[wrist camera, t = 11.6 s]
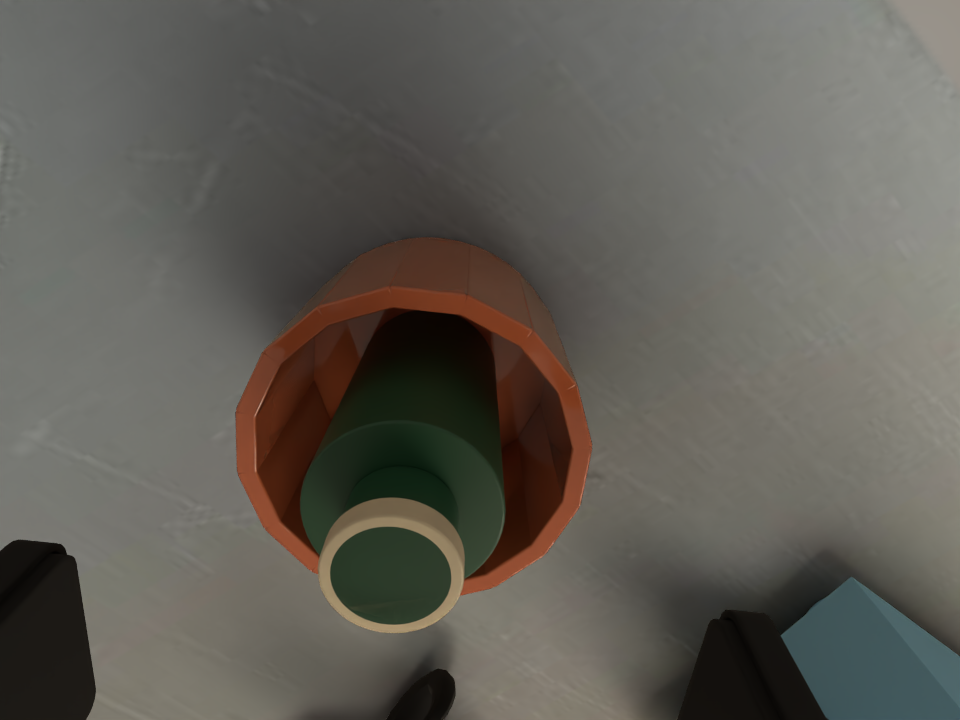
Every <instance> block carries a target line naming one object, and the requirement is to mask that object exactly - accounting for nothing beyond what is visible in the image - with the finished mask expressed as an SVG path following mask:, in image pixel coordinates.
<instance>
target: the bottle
mask: <svg viewBox="0 0 960 720" xmlns="http://www.w3.org/2000/svg"><path fill="white" fill-rule="evenodd" d="M300 511H301V517H302V522H303V526H304V529H305V531H306V534H307V537H308V539H309V540H310V542H311V544H312V546H313V547H314V549H315V550H316V552H317V553H318V554H319V556H320V558H319V562H318V578H319V583H320V586H321V589H322V592H323V594H324V596H325V597H326V599H327V601H328V602H329V603H330V605H331V606H332V607H333V608H334V609H335V610H336V611H337V612H338V613H339V614H340V615H342V616H343V617H344V618H346V619H347V620H349V621H350V622H352V623H354V624H356V625H358V626H360V627H363V628H366V629H369V630H373V631H377V632H384V633H405V632H411V631H415V630H419V629H422V628H425V627H427V626H429V625H431V624H433V623H435V622H437V621H438V620H440V619H441V618H442V617H444V616H445V615H446V614H447V613H448V612H449V611H450V610H451V609H452V607H453V606H454V605H455V604H456V602H457V600H458V598H459V597H460V594H461V591H462V588H463V584H464V579H465V578H467V577H468V576H470V575H471V574H472V573H474V572H475V571H476V570H477V569H478V568H480V567H481V566H482V565H483V564H484V563H485V561H486V560H487V559H488V558H489V556H490V555H491V554H492V552H493V551H494V549H495V547H496V546H497V544H498V542H499V539H500V537H501V534H502V531H503V527H504V523H505V513H506V508H505V494H504V480H503V466H502V453H501V439H500V425H499V411H498V398H497V384H496V370H495V362H494V357H493V354H492V351H491V349H490V347H489V345H488V343H487V341H486V340H485V338H484V337H483V336H482V334H481V333H480V332H479V331H478V330H477V329H476V328H475V327H474V326H473V325H471V324H470V323H469V322H467V321H466V320H464V319H462V318H461V317H459V316H456V315H454V314H447V313H438V312H429V311H419V310H414V311H409V312H406V313H403V314H400V315H398V316H396V317H394V318H392V319H391V320H389V321H388V322H386V323H385V324H384V325H383V326H382V327H381V328H379V329H378V331H377V332H376V333H375V334H374V335H373V337H372V339H371V340H370V342H369V344H368V346H367V348H366V350H365V352H364V354H363V356H362V358H361V360H360V362H359V364H358V367H357V369H356V371H355V373H354V375H353V377H352V379H351V381H350V383H349V385H348V387H347V389H346V392H345V394H344V396H343V398H342V400H341V402H340V404H339V406H338V408H337V410H336V412H335V414H334V417H333V419H332V421H331V423H330V425H329V427H328V429H327V431H326V433H325V435H324V437H323V439H322V442H321V444H320V446H319V448H318V450H317V452H316V454H315V456H314V458H313V460H312V462H311V464H310V467H309V469H308V471H307V473H306V476H305V478H304V481H303V485H302V489H301V496H300Z"/></svg>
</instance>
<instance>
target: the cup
mask: <svg viewBox="0 0 960 720" xmlns="http://www.w3.org/2000/svg"><path fill="white" fill-rule="evenodd" d="M414 310H419V311H429V312H438V313H447V314H454V315H456V316H459V317H461V318H462V319H464V320H466V321H467V322H469V323H470V324H471V325H473V326H474V327H475V328H476V329H477V330H478V331H479V332H480V333H481V334H482V336H483V337H484V338H485V340H486V341H487V343H488V345H489V347H490V349H491V351H492V354H493V357H494V362H495V370H496V384H497V398H498V411H499V425H500V439H501V453H502V466H503V480H504V494H505V508H506V513H505V523H504V527H503V531H502V534H501V537H500V539H499V542H498V544H497V546H496V547H495V549H494V551H493V552H492V554H491V555H490V556H489V558H488V559H487V560H486V561H485V563H484V564H483V565H482V566H481V567H480V568H478V569H477V570H476V571H475V572H474V573H472V574H471V575H470V576H468V577H467V578H465V579H464V584H463V588H462V591H461V594H460V596H461V595H465V594H469V593H474V592H478V591H482V590H487V589H491V588H493V587H496V586H497V585H499V584H501V583H502V582H504V581H505V580H507V579H508V578H510V577H512V576H513V575H515V574H516V573H518V572H519V571H521V570H523V569H524V568H526V567H527V566H529V565H530V564H532V563H534V562H535V561H537V560H538V559H540V558H541V557H543V556H544V555H545V554H546V553H547V552H548V551H549V549H550V548H551V546H552V545H553V544H554V542H555V541H556V539H557V538H558V537H559V535H560V534H561V532H562V531H563V530H564V528H565V527H566V526H567V524H568V523H569V521H570V520H571V519H572V517H573V516H574V514H575V513H576V512H577V510H578V509H579V507H580V505H581V502H582V497H583V492H584V487H585V482H586V477H587V472H588V467H589V462H590V457H591V452H592V441H591V437H590V433H589V429H588V425H587V421H586V417H585V413H584V409H583V405H582V401H581V397H580V393H579V389H578V385H577V383H576V380H575V377H574V375H573V372H572V369H571V367H570V364H569V361H568V359H567V356H566V353H565V351H564V348H563V345H562V343H561V340H560V337H559V335H558V332H557V329H556V327H555V324H554V321H553V319H552V316H551V314H550V312H549V310H548V309H547V308H546V306H545V305H544V304H543V302H542V300H541V299H540V297H539V296H538V294H537V293H536V291H535V290H534V288H533V287H532V286H531V285H530V284H529V283H528V281H527V280H526V279H525V278H524V277H523V276H522V275H521V274H520V273H519V272H518V271H517V270H515V269H514V268H513V267H512V266H511V265H509V264H508V263H507V262H505V261H503V260H502V259H500V258H499V257H497V256H496V255H494V254H492V253H490V252H488V251H486V250H484V249H482V248H479V247H477V246H474V245H471V244H468V243H465V242H462V241H457V240H451V239H446V238H431V237H422V238H410V239H404V240H399V241H395V242H390V243H387V244H385V245H382V246H379V247H376V248H374V249H372V250H370V251H368V252H366V253H363V254H361V255H359V256H358V257H357V258H356V259H354V260H353V261H352V262H350V263H349V264H347V265H346V266H345V267H344V268H343V269H342V270H341V271H340V272H339V273H337V274H336V275H335V276H334V277H333V278H332V279H330V280H329V281H328V282H327V283H326V284H324V285H323V286H322V287H321V288H320V289H319V290H318V292H317V293H316V294H315V295H314V296H313V297H312V298H311V299H310V300H309V301H308V302H307V304H306V305H305V306H304V307H303V308H302V309H301V310H300V311H299V312H298V313H297V314H296V316H295V317H294V318H293V319H292V320H291V321H290V322H289V323H288V324H287V325H286V326H285V328H284V329H283V330H282V331H281V332H280V333H279V334H278V335H277V336H276V337H275V338H274V340H273V341H272V342H271V343H270V344H269V345H268V346H267V347H266V348H265V350H264V351H263V352H262V354H261V356H260V358H259V360H258V362H257V364H256V367H255V369H254V371H253V373H252V375H251V377H250V380H249V382H248V384H247V386H246V388H245V390H244V392H243V395H242V397H241V399H240V401H239V403H238V405H237V408H236V412H235V413H236V453H237V472H238V476H239V478H240V480H241V482H242V484H243V486H244V488H245V490H246V493H247V495H248V497H249V499H250V501H251V503H252V505H253V507H254V509H255V511H256V513H257V515H258V517H259V519H260V521H261V523H262V525H263V527H264V528H265V530H266V531H267V532H268V533H269V534H270V535H271V536H273V537H274V538H275V539H276V540H277V541H278V542H279V543H280V544H281V545H282V546H283V547H285V548H286V549H287V550H288V551H289V552H290V553H291V554H292V555H293V556H294V557H296V558H297V559H298V560H299V561H300V562H301V563H302V564H303V565H304V566H305V567H307V568H308V569H309V570H312V572H313V573H316V574H318V562H319V558H320V556H319V554H318V553H317V552H316V550H315V549H314V547H313V546H312V544H311V542H310V540H309V539H308V537H307V534H306V531H305V529H304V526H303V522H302V517H301V511H300V496H301V489H302V485H303V481H304V478H305V476H306V473H307V471H308V469H309V467H310V464H311V462H312V460H313V458H314V456H315V454H316V452H317V450H318V448H319V446H320V444H321V442H322V439H323V437H324V435H325V433H326V431H327V429H328V427H329V425H330V423H331V421H332V419H333V417H334V414H335V412H336V410H337V408H338V406H339V404H340V402H341V400H342V398H343V396H344V394H345V392H346V389H347V387H348V385H349V383H350V381H351V379H352V377H353V375H354V373H355V371H356V369H357V367H358V364H359V362H360V360H361V358H362V356H363V354H364V352H365V350H366V348H367V346H368V344H369V342H370V340H371V339H372V337H373V335H374V334H375V333H376V332H377V331H378V329H379V328H381V327H382V326H383V325H384V324H385V323H386V322H388V321H389V320H391V319H392V318H394V317H396V316H398V315H400V314H403V313H406V312H409V311H414Z"/></svg>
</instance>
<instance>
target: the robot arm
mask: <svg viewBox="0 0 960 720" xmlns="http://www.w3.org/2000/svg"><path fill="white" fill-rule="evenodd" d="M95 694H96V687H95V680H94V674H93V667H92V661H91V654H90V648H89V641H88V635H87V629H86V622H85V616H84V609H83V603H82V596H81V590H80V583H79V577H78V570H77V564H76V561H75V558H74V557H73V556H70V555H67V553H66V550H65V548H64V547H63V546H62V545H61V544H57V543H48V542H38V541H28V540H16V541H12V542H11V543H9V544H8V545H7V546H5V547H4V548H3V549H2V550H1V551H0V720H86V719H87V717H88V715H89V713H90V711H91V709H92V706H93V703H94V699H95ZM677 720H829V719H827V718H826V717H825V715H824V713H823V712H822V710H821V708H820V706H819V704H818V703H817V701H816V699H815V697H814V695H813V693H812V692H811V690H810V688H809V686H808V684H807V683H806V681H805V679H804V677H803V675H802V674H801V672H800V670H799V668H798V666H797V665H796V663H795V661H794V659H793V657H792V655H791V654H790V652H789V650H788V648H787V646H786V645H785V643H784V641H783V639H782V637H781V636H780V634H779V632H778V630H777V628H776V627H775V625H774V623H773V621H772V620H771V619H770V617H769V616H768V615H766V614H765V613H757V612H747V611H736V610H725V611H724V612H723V613H722V614H721V617H720V619H712V620H711V621H710V623H709V625H708V628H707V631H706V634H705V637H704V640H703V643H702V646H701V649H700V652H699V655H698V658H697V661H696V664H695V667H694V670H693V673H692V676H691V680H690V683H689V686H688V689H687V692H686V695H685V698H684V701H683V704H682V707H681V710H680V713H679V716H678V719H677Z"/></svg>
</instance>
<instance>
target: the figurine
mask: <svg viewBox="0 0 960 720" xmlns="http://www.w3.org/2000/svg"><path fill="white" fill-rule="evenodd" d="M454 698H455V681H454V678H453V677H452V676H451V675H450V674H449V673H448V672H447V671H446V670H442V669H436V670H434V671H432V672H430V673H429V674H427V675H426V676H424V677H423V678H421V679H420V680H419V681H417V682H416V683H415V684H414V685H413V686H412V687H411V688H410V689H409V690H408V691H407V692H406V693H405V694H404V695H403V697H402V698H401V699H400V700H399V702H398V703H397V704H396V706H395V707H394V708H393V709H392V711H391V712H390V714H389V716H388V717H387V719H386V720H443V719H444V718H445V717H446V715H447V714H448V712H449V710H450V709H451V707H452V704H453V701H454Z"/></svg>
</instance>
